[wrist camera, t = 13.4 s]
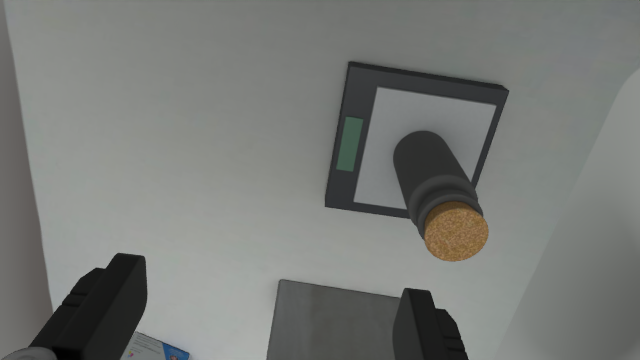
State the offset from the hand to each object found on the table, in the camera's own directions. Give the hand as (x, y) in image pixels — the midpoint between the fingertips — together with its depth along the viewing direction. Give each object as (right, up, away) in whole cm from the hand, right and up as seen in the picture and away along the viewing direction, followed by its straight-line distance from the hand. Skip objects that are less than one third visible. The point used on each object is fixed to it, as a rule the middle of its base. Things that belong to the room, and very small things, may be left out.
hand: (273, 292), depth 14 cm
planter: (+3, -14, +46) cm, 48 cm away
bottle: (+12, +6, +33) cm, 35 cm away
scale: (+11, +7, +35) cm, 38 cm away
